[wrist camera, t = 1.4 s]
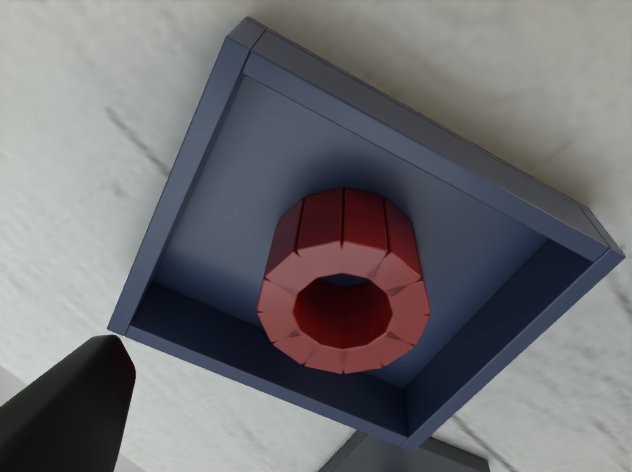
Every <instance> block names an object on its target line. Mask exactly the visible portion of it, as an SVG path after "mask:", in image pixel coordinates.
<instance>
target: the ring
mask: <svg viewBox="0 0 632 472" xmlns="http://www.w3.org/2000/svg"><path fill="white" fill-rule="evenodd" d="M340 273H345V274H349V275H354V276H358V277H363V278H367V279H369V281H368V282H366V283H363V284H358V285H353V286H348V287H342V286H338V285H333V284H329V283H324V282H323V281H321V280H320V279H319V278H320V277H325V276H330V275H335V274H340ZM257 310H258V311H257V314H258V317H259V319H260V321H261V323H262V325H263V327H264V329H265V331H266V333H267V335H268V338H269V340H270V341H271V342H273V345H274V346H275V347H277V348H278V349H280V350H281V351H283V352H284V353H286V354H287V355H288V356H290V357H291V358H293V359H294V360H296V361H297V362H298V363H300V364H303V363H305V364H304V365H305V366H306V367H311V368H316V369H320V370H325V371H330V372H335V373H339V374H342V372H343V371H344V373H345V374H347V373H354V372H360V371H366V370H372V369H378V368H382V364H383V365H384V366H387V365H388V364H390V363H391V362H393V361H394V360H396V359H397V358H399V357H401V356H402V355H404V354H405V353H407V352H408V351H410V350H411V349H413V348H414V345H416V344H417V343H418V341H419V339H420V337H421V335H422V333H423V331H424V328H425V326H426V324H427V322H428V320H429V318H430V313H431V308H430V303H429V298H428V292H427V287H426V282H425V277H424V271H423V266H422V261H421V256H420V251H419V247H418V242H417V238H416V234H415V230H414V226H413V223H411V220H410V219H409V218H407V217H406V216H405V215H404V214H403V213H402V212H401V211H400V210H399V209H398V208H396V207H395V206H394V205H393V204H392V203H391V202H390V201H389V200H388V199H386V198H384V199H383V198H382V196H380V195H375V194H371V193H367V192H363V191H358V190H354V189H350V188H345V190H344V191H343V188H338V189H333V190H329V191H325V192H321V193H317V194H313V195H309V196H306V198H305V199H304V198H302V199H301V200H300V201H299V202H297V203H296V204H295V205H294V206H293V207H292V208H291V209H290V210H289V211H288V212H287V213H286V214H285V215H284V216H283V217H281V218H280V219H279V221H278V224H277V225H276V228H275V232H274V236H273V240H272V244H271V248H270V252H269V256H268V260H267V264H266V268H265V272H264V276H263V280H262V285H261V289H260V294H259V298H258V303H257Z"/></svg>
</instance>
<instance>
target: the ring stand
mask: <svg viewBox="0 0 632 472" xmlns="http://www.w3.org/2000/svg"><path fill="white" fill-rule="evenodd" d="M319 472H490V469H489V465H488V462H487V461H486V460H483V459H481V458H478V457H476V456H473V455H471V454H469V453H466V452H464V451H461V450H459V449H456V448H454V447H452V446H449V445H447V444H444V443H442V442H439V441H437V440H434V439H432V438H430V437H428V438H427V439H426V440H425V441H424V442H423V443H422V444H421V445H420V446H418V447H417V448H416V449H415V450H414V451H410V450H407V449H405V448H402V447H400V446H397V445H394V444H392V443H389V442H387V441H384V440H382V439H379V438H377V437H374V436H372V435H369V434H367V433H364V432H362V431H359V430H358V431H357V433H356V434H355V435H354V436H353V437H352V438H351V439H350V440H349V441H348V442H347V443H346V444H345V445H344V446H343V447H342V448H341V449H340V450H339V451H338V452H337V454H336V455H335V456H334V457H333V458H332V459H331V460H330V461H329V462H328V463H327V464H326V465H325V466H324V467H323V468H322V469H321V470H320V471H319Z"/></svg>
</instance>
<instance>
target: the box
mask: <svg viewBox="0 0 632 472" xmlns="http://www.w3.org/2000/svg"><path fill="white" fill-rule="evenodd" d="M338 188H343V191H344V190H345V188H350V189H354V190H358V191H363V192H367V193H371V194H375V195H380V196H382V198H383V199H384V198H386V199H388V200H389V201H390V202H391V203H392V204H393V205H394V206H395V207H396V208H398V209H399V210H400V211H401V212H402V213H403V214H404V215H405V216H406V217H407V218H409V219H410V220H411V223H413V226H414V230H415V234H416V238H417V242H418V247H419V251H420V256H421V261H422V266H423V271H424V277H425V282H426V287H427V292H428V298H429V303H430V308H431V313H430V318H429V320H428V322H427V324H426V326H425V328H424V331H423V333H422V335H421V337H420V339H419V341H418V343H417V344H416V345H414V348H413V349H411V350H410V351H408V352H407V353H405V354H404V355H402V356H401V357H399V358H397V359H396V360H394V361H393V362H391V363H390V364H388V365H387V366H384V365H383V364H382V368H378V369H372V370H366V371H360V372H354V373H347V374H345V373H344V371H343V372H342V374H339V373H335V372H330V371H325V370H320V369H316V368H311V367H306V366H305V365H304V364H305V363H303V364H300V363H298V362H297V361H296V360H294V359H293V358H291V357H290V356H288V355H287V354H286V353H284V352H283V351H281V350H280V349H278V348H277V347H275V346H274V345H273V342H271V341H270V340H269V338H268V335H267V333H266V331H265V329H264V327H263V325H262V323H261V321H260V319H259V317H258V314H257V311H258V310H257V303H258V298H259V294H260V289H261V285H262V280H263V276H264V272H265V268H266V264H267V260H268V256H269V252H270V248H271V244H272V240H273V236H274V232H275V228H276V225H277V224H278V221H279V219H280V218H281V217H283V216H284V215H285V214H286V213H287V212H288V211H289V210H290V209H291V208H292V207H293V206H294V205H295V204H296V203H297V202H299V201H300V200H301V199H302V198H304V199H305V198H306V196H309V195H313V194H317V193H321V192H325V191H329V190H333V189H338ZM625 257H626V255H625V254H624V253H623V251H622V250H621V249H620V248H619V246H618V245H617V244H616V243H615V241H614V240H613V239H612V237H611V236H610V235H609V234H608V232H607V231H606V230H605V229H604V227H603V226H602V225H601V223H600V222H599V221H598V220H597V218H596V217H595V216H594V215H593V213H592V212H591V210H590V209H588V208H586V207H584V206H583V205H581V204H579V203H577V202H575V201H574V200H572V199H570V198H568V197H567V196H565V195H563V194H561V193H560V192H558V191H556V190H554V189H552V188H551V187H549V186H547V185H545V184H544V183H542V182H540V181H538V180H536V179H535V178H533V177H531V176H529V175H528V174H526V173H524V172H522V171H521V170H519V169H517V168H515V167H513V166H512V165H510V164H508V163H506V162H505V161H503V160H501V159H499V158H497V157H496V156H494V155H492V154H490V153H489V152H487V151H485V150H483V149H482V148H480V147H478V146H476V145H474V144H473V143H471V142H469V141H467V140H466V139H464V138H462V137H460V136H458V135H457V134H455V133H453V132H451V131H450V130H448V129H446V128H444V127H443V126H441V125H439V124H437V123H435V122H434V121H432V120H430V119H428V118H427V117H425V116H423V115H421V114H419V113H418V112H416V111H414V110H412V109H411V108H409V107H407V106H405V105H404V104H402V103H400V102H398V101H396V100H395V99H393V98H391V97H389V96H388V95H386V94H384V93H382V92H380V91H379V90H377V89H375V88H373V87H372V86H370V85H368V84H366V83H365V82H363V81H361V80H359V79H357V78H356V77H354V76H352V75H350V74H349V73H347V72H345V71H343V70H341V69H340V68H338V67H336V66H334V65H333V64H331V63H329V62H327V61H326V60H324V59H322V58H320V57H318V56H317V55H315V54H313V53H311V52H310V51H308V50H306V49H304V48H302V47H301V46H299V45H297V44H295V43H294V42H292V41H290V40H288V39H286V38H285V37H283V36H281V35H279V34H278V33H276V32H274V31H272V30H271V29H269V28H267V27H265V26H263V25H262V24H260V23H258V22H256V21H255V20H253V19H251V18H249V17H246V18H245V19H244V20H243V21H242V22H241V23H240V24H239V25H238V26H237V27H236V28H235V29H234V30H232V31H231V32H230V33H229V34H228V35H227V36H226V38H225V40H224V43H223V45H222V47H221V50H220V52H219V55H218V57H217V60H216V62H215V65H214V67H213V69H212V72H211V74H210V77H209V79H208V82H207V84H206V87H205V89H204V92H203V94H202V96H201V99H200V101H199V104H198V106H197V109H196V111H195V114H194V116H193V119H192V121H191V123H190V126H189V128H188V131H187V133H186V136H185V138H184V141H183V143H182V145H181V148H180V150H179V153H178V155H177V158H176V160H175V163H174V165H173V168H172V170H171V172H170V175H169V177H168V180H167V182H166V185H165V187H164V190H163V192H162V194H161V197H160V199H159V202H158V204H157V207H156V209H155V212H154V214H153V217H152V219H151V221H150V224H149V226H148V229H147V231H146V234H145V236H144V239H143V241H142V244H141V246H140V248H139V251H138V253H137V256H136V258H135V261H134V263H133V266H132V268H131V270H130V273H129V275H128V278H127V280H126V283H125V285H124V288H123V290H122V293H121V295H120V297H119V300H118V302H117V305H116V307H115V310H114V312H113V315H112V317H111V319H110V322H109V324H108V327H107V330H109V331H112V332H114V333H117V334H119V335H122V336H125V337H127V338H130V339H132V340H135V341H137V342H140V343H142V344H145V345H147V346H150V347H152V348H155V349H157V350H160V351H162V352H165V353H167V354H170V355H172V356H174V357H177V358H179V359H182V360H184V361H187V362H189V363H192V364H194V365H197V366H199V367H202V368H204V369H207V370H209V371H212V372H214V373H217V374H219V375H222V376H224V377H227V378H229V379H232V380H234V381H237V382H239V383H242V384H244V385H247V386H249V387H252V388H254V389H257V390H259V391H262V392H264V393H267V394H269V395H272V396H274V397H277V398H279V399H282V400H284V401H287V402H289V403H292V404H294V405H297V406H299V407H302V408H304V409H307V410H309V411H312V412H314V413H317V414H319V415H322V416H324V417H327V418H329V419H332V420H334V421H337V422H339V423H342V424H344V425H347V426H349V427H352V428H354V429H357V430H359V431H362V432H364V433H367V434H369V435H372V436H374V437H377V438H379V439H382V440H384V441H387V442H389V443H392V444H394V445H397V446H400V447H402V448H405V449H407V450H410V451H414V450H415V449H416V448H417V447H418V446H420V445H421V444H422V443H423V442H424V441H425V440H426V439H427V438H428V437H429V436H431V435H432V434H433V433H434V432H435V431H436V430H437V429H438V428H439V427H440V426H441V425H443V424H444V423H445V422H446V421H447V420H448V419H449V418H450V417H451V416H452V415H454V414H455V413H456V412H457V411H458V410H459V409H460V408H461V407H462V406H463V405H464V404H466V403H467V402H468V401H469V400H470V399H471V398H472V397H473V396H474V395H475V394H477V393H478V392H479V391H480V390H481V389H482V388H483V387H484V386H485V385H486V384H487V383H489V382H490V381H491V380H492V379H493V378H494V377H495V376H496V375H497V374H498V373H500V372H501V371H502V370H503V369H504V368H505V367H506V366H507V365H508V364H509V363H510V362H512V361H513V360H514V359H515V358H516V357H517V356H518V355H519V354H520V353H521V352H523V351H524V350H525V349H526V348H527V347H528V346H529V345H530V344H531V343H532V342H534V341H535V340H536V339H537V338H538V337H539V336H540V335H541V334H542V333H543V332H544V331H546V330H547V329H548V328H549V327H550V326H551V325H552V324H553V323H554V322H555V321H557V320H558V319H559V318H560V317H561V316H562V315H563V314H564V313H565V312H566V311H567V310H569V309H570V308H571V307H572V306H573V305H574V304H575V303H576V302H577V301H578V300H580V299H581V298H582V297H583V296H584V295H585V294H586V293H587V292H588V291H589V290H590V289H592V288H593V287H594V286H595V285H596V284H597V283H598V282H599V281H600V280H601V279H603V278H604V277H605V276H606V275H607V274H608V273H609V272H610V271H611V270H612V269H613V268H615V267H616V266H617V265H618V264H619V263H620V262H621V261H622V260H623V259H624V258H625ZM319 279H320V280H321V281H323V282H324V283H329V284H333V285H338V286H342V287H348V286H353V285H358V284H363V283H366V282H368V281H369V279H367V278H363V277H358V276H354V275H349V274H345V273H340V274H335V275H330V276H325V277H320V278H319Z"/></svg>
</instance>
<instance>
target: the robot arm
mask: <svg viewBox="0 0 632 472" xmlns="http://www.w3.org/2000/svg"><path fill="white" fill-rule="evenodd" d="M135 379H136V370H135V366H134V364H133V362H132V360H131V358H130V356H129V355H128V353H127V351H126V349H125V347H124V345H123V343H122V341H121V340H120V338H119V337H117V336H116V335H101V336H95V337H92V338H90V339H89V340H88V341H86V342H85V343H84V344H82V345H81V346H80V347H78V348H77V349H76V350H74V351H73V352H72V353H70V354H69V355H68V356H67V357H65V358H64V359H63V360H61V361H60V362H59V363H57V364H56V365H55V366H53V367H52V368H51V369H49V370H48V371H47V372H45V373H44V374H43V375H42V376H40V377H39V378H38V379H36V380H35V381H34V382H32V383H31V384H30V385H28V386H27V387H26V388H25V389H23V390H22V391H20V392H19V393H18V394H17V395H15V396H14V397H13V398H11V399H10V400H9V401H7V402H6V403H5V404H4V405H2V406H1V407H0V472H113V471H114V468H115V465H116V461H117V458H118V454H119V450H120V446H121V442H122V437H123V433H124V428H125V424H126V420H127V415H128V411H129V406H130V402H131V398H132V393H133V389H134V384H135Z"/></svg>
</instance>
